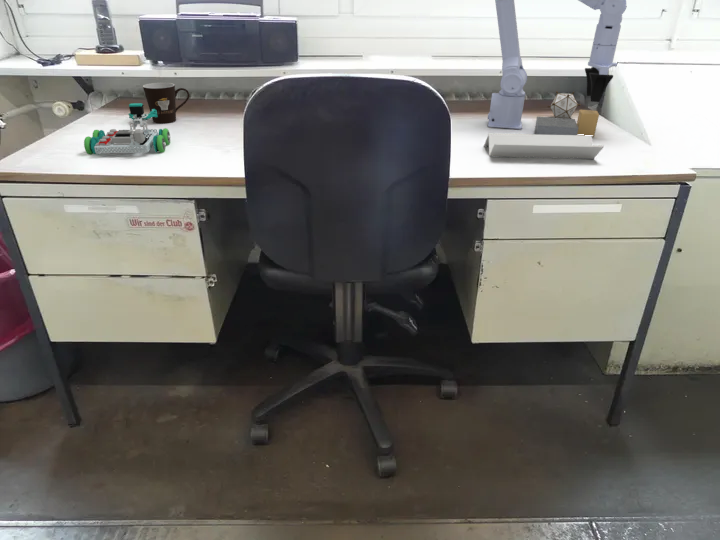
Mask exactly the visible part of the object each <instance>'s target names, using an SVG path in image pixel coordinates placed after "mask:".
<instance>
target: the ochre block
mask: <svg viewBox="0 0 720 540" xmlns="http://www.w3.org/2000/svg"><path fill="white" fill-rule="evenodd" d="M599 117H600V113H599V112H598V110H594V109H593V110H592V109H591V110H589V109H579V111H578V116H577V121H576V123H577V126H578V133H577V134H584V135H594V136H595V134H596V130H597V125H598V122H599Z"/></svg>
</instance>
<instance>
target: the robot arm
mask: <svg viewBox="0 0 720 540" xmlns="http://www.w3.org/2000/svg"><path fill="white" fill-rule="evenodd" d="M577 1H578V2H580V3H582V4H583V5H585V6H588V8H590V9H592V10H594V11H597V10H599V11H600V14H599V18H598V22H597V24H596V28H595V32H594V38H593V41H592V46H591V51H590V55H589V56H590V57H589V60H588V62H587V66H589V67H585V68H584V72H585V76H586V96H587V97H590V102H592V103H593V102H594V103H599V102H600V101H601V99H602V98H603V94H604V93H605V90H606V89H607V87H608V85H609V83H610V82H611V81H612V80H613V79H614V75H613V74H609V70H610V69H611V68H613V67H618V66H617V65H618V63H617V62H614V58H615V54H616V49H617V45H618V41H619V36H620V33H621V28H622V25H621V23H622V21H623V14H624V13H625V11H626V9H627V0H577ZM515 5H516V4H515V0H495V9H496V18H497V25H498V26H497V27H498V34H499V40H500V51H501V58H502V62H501V63H502V64H501V65H502V66H501V72H502V76H501V79H500V86H499V87H500V90H499V92H492V93H491V100H490V107H489V112H488V113H487V120H488V123H487V127H488V128H499V129H500V128H502V129H513V130H514V129H515V130H522V129H523V124H522V123H523V122H522V115H523V111H524V103H525V98H526V92H525V91H524V86H526V84H527V81H528V75H527V71H526V70H525V69H524V66H523V60H522V57H521V51H520V50H521V49H520V41H519V32H518V31H519V30H518V23H517V14H516V6H515ZM590 67H591V68H590Z"/></svg>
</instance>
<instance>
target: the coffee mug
mask: <svg viewBox="0 0 720 540" xmlns="http://www.w3.org/2000/svg"><path fill="white" fill-rule="evenodd" d="M142 89H143V92H144V96H145V99H146V102H147V105H148V108H149V112H151V111H152V109H155V110H157V116H158V117H156V118H155V117H151V119H152V122H153V124H157V125H158V124H159V125H160V124H161V125H163V124H171V123H172V124H173V123H175V122H176V121H177V111H178V110H180V109H181V108H182V107H183V106H184V105H186V104H187V102H188V100H189V99H190V93H189V90H187V89H186V88H184V87H180V88H177V89H176V83H175V84H174V83H172V82H152V83H151V82H150V83H146V84H143V85H142ZM180 91H185V93H186V95H187V96H186V99H185V100H184V101H183V102H182V103H180V104H179V105H178V106H177V107H176V97H177V95H178V93H179V92H180Z"/></svg>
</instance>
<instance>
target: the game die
mask: <svg viewBox="0 0 720 540" xmlns="http://www.w3.org/2000/svg"><path fill="white" fill-rule="evenodd" d="M555 92H556V95H555V97H554V99H553V101H552V102H551V104H550V105H548V106H547V108H550V110H551V112H552V114H553V116H554V117H553V118H567V119H572V115H573V114H574V112H575V111H576V110H577V108H578V107H580V106H582V104H581V103H578V102H577V100H576V98H575V96H574V94H575V91H573V92H571V93H560V92H558V90H556V91H555Z"/></svg>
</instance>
